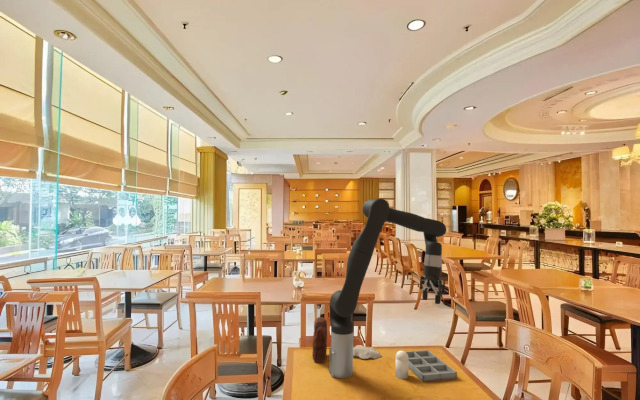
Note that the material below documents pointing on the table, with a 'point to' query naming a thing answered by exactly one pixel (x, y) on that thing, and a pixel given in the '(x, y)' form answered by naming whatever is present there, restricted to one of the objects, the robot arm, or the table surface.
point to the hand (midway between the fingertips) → (431, 301)
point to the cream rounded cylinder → (401, 365)
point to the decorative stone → (365, 352)
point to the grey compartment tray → (429, 366)
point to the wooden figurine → (320, 340)
